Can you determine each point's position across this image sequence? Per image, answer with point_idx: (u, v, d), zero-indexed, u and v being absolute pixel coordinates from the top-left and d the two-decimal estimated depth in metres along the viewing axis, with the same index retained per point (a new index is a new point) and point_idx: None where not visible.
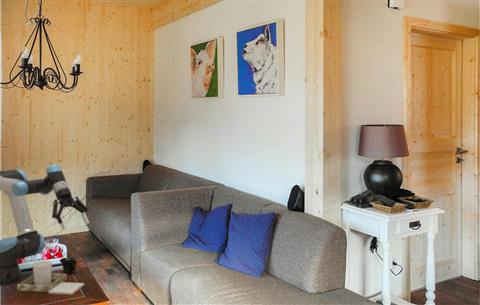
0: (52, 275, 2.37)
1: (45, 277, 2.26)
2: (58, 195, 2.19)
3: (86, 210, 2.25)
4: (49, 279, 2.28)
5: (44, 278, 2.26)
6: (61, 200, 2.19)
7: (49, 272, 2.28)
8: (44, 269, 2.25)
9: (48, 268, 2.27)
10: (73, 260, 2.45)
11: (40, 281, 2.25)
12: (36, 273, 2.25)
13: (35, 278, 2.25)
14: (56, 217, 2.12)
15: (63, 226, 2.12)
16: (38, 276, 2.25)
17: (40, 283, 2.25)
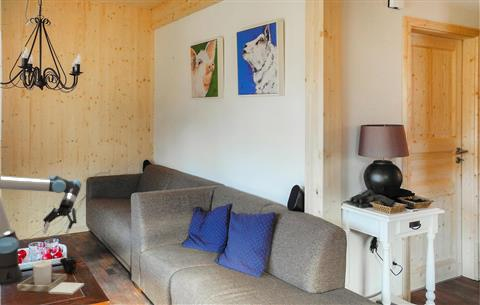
0: (52, 275, 2.37)
1: (45, 277, 2.26)
2: (72, 206, 2.53)
3: None
4: (49, 279, 2.28)
5: (44, 278, 2.26)
6: None
7: (49, 272, 2.28)
8: (44, 269, 2.25)
9: (48, 268, 2.27)
10: (73, 260, 2.45)
11: (40, 281, 2.25)
12: (36, 273, 2.25)
13: (35, 278, 2.25)
14: (73, 222, 2.44)
15: (67, 231, 2.41)
16: (38, 276, 2.25)
17: (40, 283, 2.25)
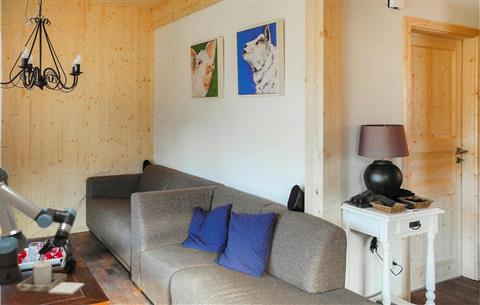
0: (52, 275, 2.37)
1: (45, 277, 2.26)
2: (68, 237, 2.46)
3: None
4: (49, 279, 2.28)
5: (44, 278, 2.26)
6: None
7: (49, 272, 2.28)
8: (44, 269, 2.25)
9: (48, 268, 2.27)
10: (73, 260, 2.45)
11: (40, 281, 2.25)
12: (36, 273, 2.25)
13: (35, 278, 2.25)
14: (69, 255, 2.37)
15: (63, 265, 2.34)
16: (38, 276, 2.25)
17: (40, 283, 2.25)
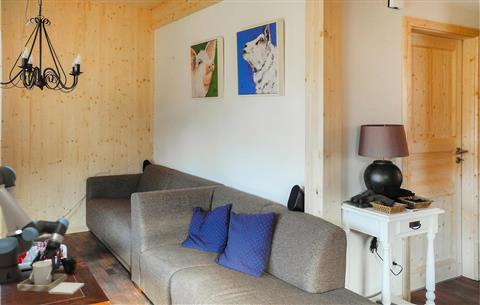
0: (52, 275, 2.37)
1: (45, 277, 2.26)
2: None
3: None
4: None
5: (44, 278, 2.26)
6: None
7: None
8: (44, 269, 2.25)
9: (48, 268, 2.27)
10: (73, 260, 2.45)
11: (40, 281, 2.25)
12: (36, 273, 2.25)
13: (35, 278, 2.25)
14: (55, 268, 2.30)
15: (49, 278, 2.27)
16: (38, 276, 2.25)
17: (40, 283, 2.25)
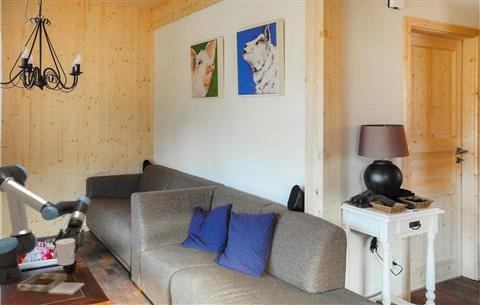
0: (52, 275, 2.37)
1: (69, 255, 2.19)
2: None
3: None
4: None
5: (68, 256, 2.19)
6: None
7: None
8: (68, 246, 2.18)
9: (71, 246, 2.20)
10: None
11: (64, 259, 2.18)
12: (59, 251, 2.18)
13: (58, 256, 2.18)
14: (78, 246, 2.23)
15: (73, 256, 2.20)
16: (61, 254, 2.18)
17: (64, 261, 2.18)
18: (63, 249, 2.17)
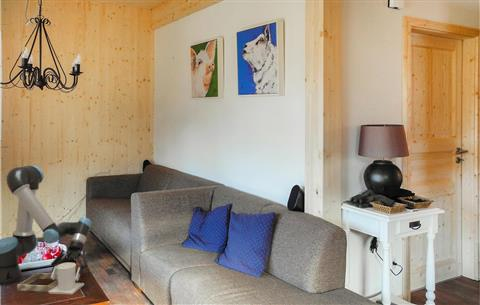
0: None
1: (69, 279, 2.20)
2: (82, 248, 2.33)
3: None
4: (73, 281, 2.22)
5: (68, 280, 2.20)
6: None
7: (73, 274, 2.22)
8: (68, 271, 2.19)
9: (72, 270, 2.21)
10: (73, 260, 2.45)
11: (64, 284, 2.19)
12: (60, 275, 2.18)
13: (59, 280, 2.19)
14: (83, 267, 2.24)
15: (78, 278, 2.21)
16: (62, 278, 2.18)
17: (64, 286, 2.19)
18: (64, 274, 2.18)
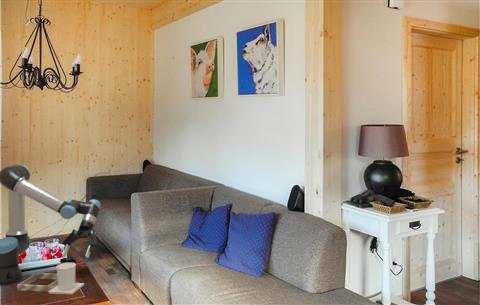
0: (52, 275, 2.37)
1: (69, 279, 2.20)
2: (92, 228, 2.44)
3: None
4: (73, 281, 2.22)
5: (68, 280, 2.20)
6: None
7: (73, 274, 2.22)
8: (68, 271, 2.19)
9: (72, 270, 2.21)
10: (73, 260, 2.45)
11: (64, 284, 2.19)
12: (60, 275, 2.18)
13: (59, 280, 2.19)
14: (93, 246, 2.35)
15: (88, 255, 2.32)
16: (62, 278, 2.18)
17: (64, 286, 2.19)
18: (64, 274, 2.18)
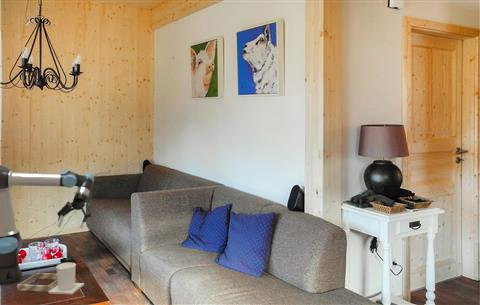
0: (52, 275, 2.37)
1: (69, 279, 2.20)
2: (86, 200, 2.52)
3: None
4: (73, 281, 2.22)
5: (68, 280, 2.20)
6: None
7: (73, 274, 2.22)
8: (68, 271, 2.19)
9: (72, 270, 2.21)
10: (73, 260, 2.45)
11: (64, 284, 2.19)
12: (60, 275, 2.18)
13: (59, 280, 2.19)
14: (87, 216, 2.44)
15: (82, 225, 2.40)
16: (62, 278, 2.18)
17: (64, 286, 2.19)
18: (64, 274, 2.18)
